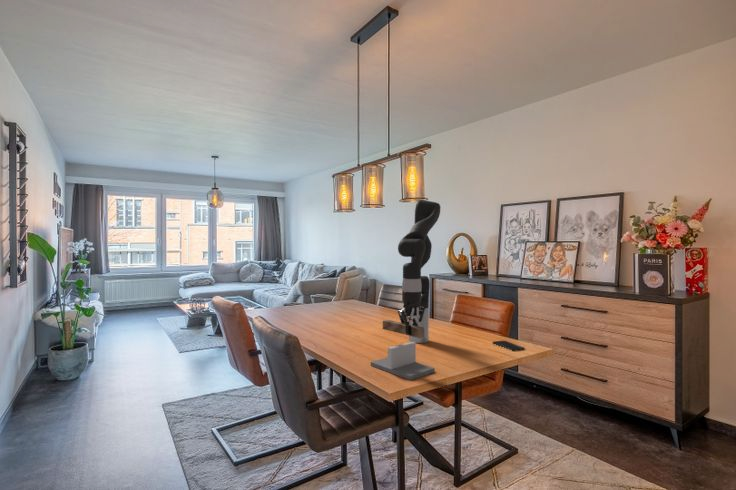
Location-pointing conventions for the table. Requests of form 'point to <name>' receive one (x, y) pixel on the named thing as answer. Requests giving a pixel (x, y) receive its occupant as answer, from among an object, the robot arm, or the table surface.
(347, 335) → the table surface
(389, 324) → the walnut bar
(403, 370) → the stand
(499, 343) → the phone
